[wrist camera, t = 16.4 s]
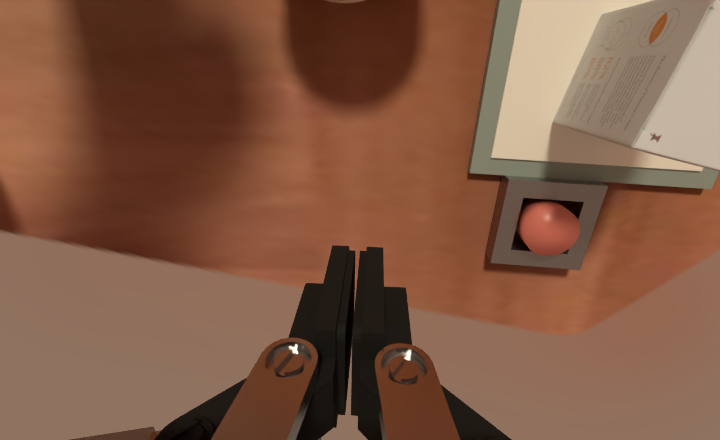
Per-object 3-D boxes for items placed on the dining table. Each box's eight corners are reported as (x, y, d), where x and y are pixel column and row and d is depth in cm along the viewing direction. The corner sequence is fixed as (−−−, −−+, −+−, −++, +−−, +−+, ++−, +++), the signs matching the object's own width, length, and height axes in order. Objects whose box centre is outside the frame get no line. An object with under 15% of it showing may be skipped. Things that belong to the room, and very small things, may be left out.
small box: (615, 140, 29) (727, 178, 19) (549, 122, 29) (629, 151, 19) (674, 32, 26) (843, 12, 16) (600, 11, 26) (727, -22, 16)
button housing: (502, 172, 32) (509, 179, 30) (595, 179, 31) (608, 186, 30) (485, 252, 35) (490, 262, 33) (569, 259, 35) (579, 270, 33)
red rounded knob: (520, 195, 32) (531, 206, 29) (571, 198, 32) (586, 210, 29) (509, 239, 34) (519, 254, 31) (557, 243, 34) (571, 258, 31)
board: (505, -49, 26) (509, -53, 25) (804, -38, 25) (820, -42, 24) (467, 170, 32) (470, 173, 31) (703, 186, 31) (713, 189, 30)
